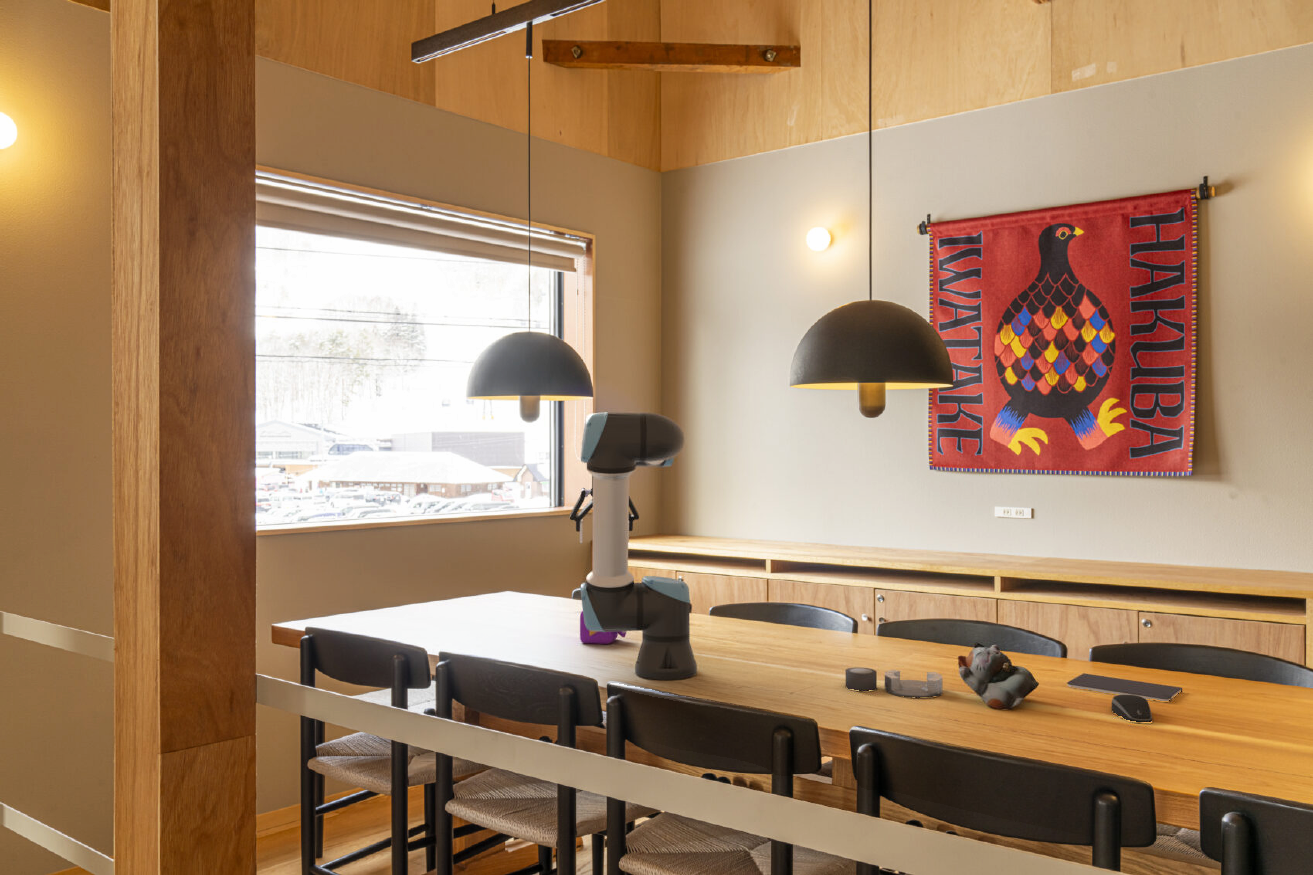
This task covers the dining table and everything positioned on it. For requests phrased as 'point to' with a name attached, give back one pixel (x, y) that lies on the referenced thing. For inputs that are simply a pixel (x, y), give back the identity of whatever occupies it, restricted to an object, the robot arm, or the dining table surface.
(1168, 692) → the notebook
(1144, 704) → the computer mouse
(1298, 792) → the dining table surface
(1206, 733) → the dining table surface
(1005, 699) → the lucky cat figurine
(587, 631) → the toy camera
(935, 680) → the barrel ring
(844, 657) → the dining table surface
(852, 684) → the cylinder
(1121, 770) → the dining table surface
